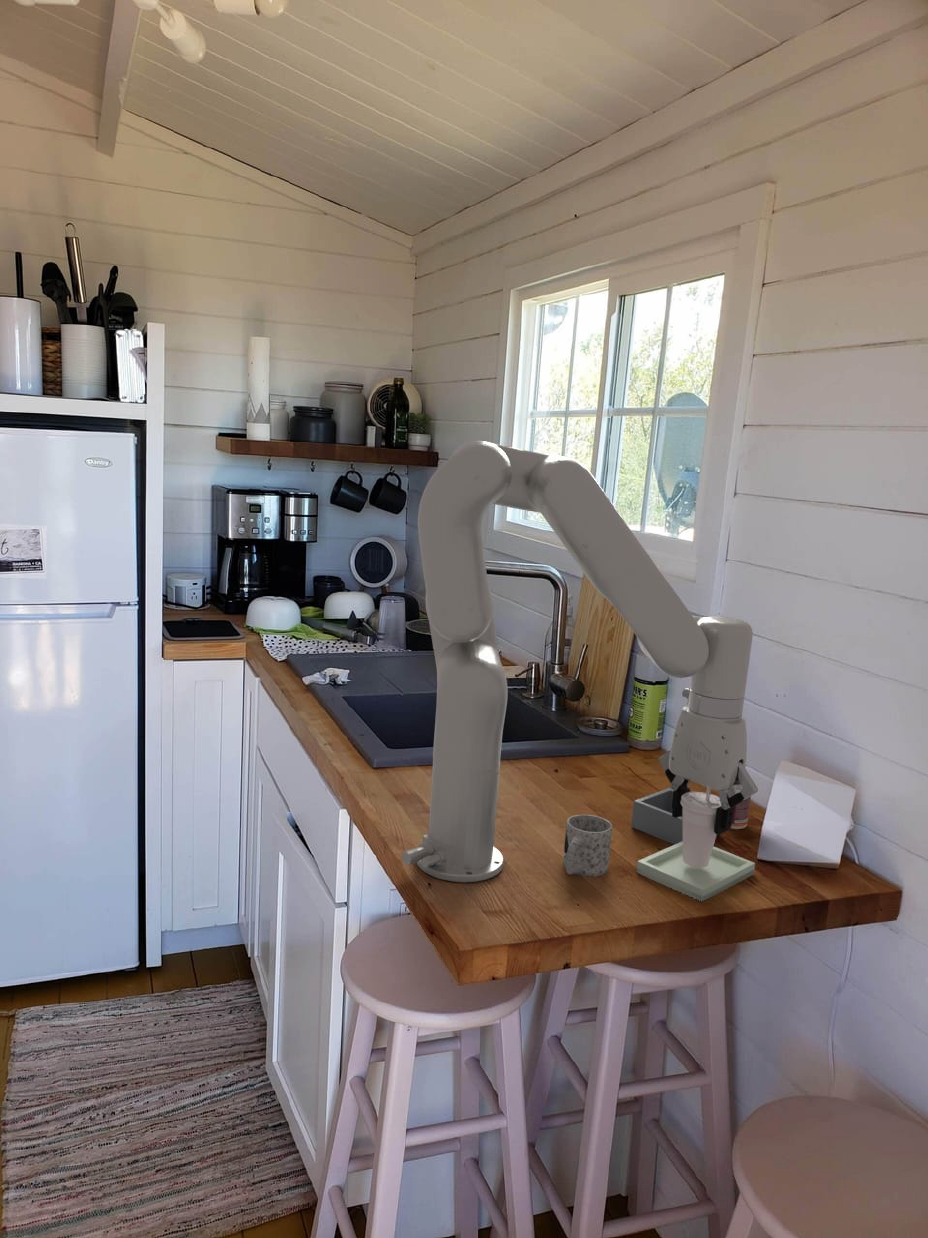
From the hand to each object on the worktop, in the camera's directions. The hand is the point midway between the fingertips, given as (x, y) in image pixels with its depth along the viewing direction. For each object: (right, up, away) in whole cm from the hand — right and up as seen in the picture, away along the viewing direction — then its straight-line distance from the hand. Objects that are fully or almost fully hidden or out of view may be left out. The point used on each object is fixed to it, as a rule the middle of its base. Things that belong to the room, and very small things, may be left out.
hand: (700, 822), depth 139 cm
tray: (0, -8, +2) cm, 8 cm away
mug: (-17, -7, 0) cm, 19 cm away
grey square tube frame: (0, -5, +17) cm, 17 cm away
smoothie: (0, -6, +1) cm, 6 cm away
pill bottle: (+10, -5, +21) cm, 24 cm away
